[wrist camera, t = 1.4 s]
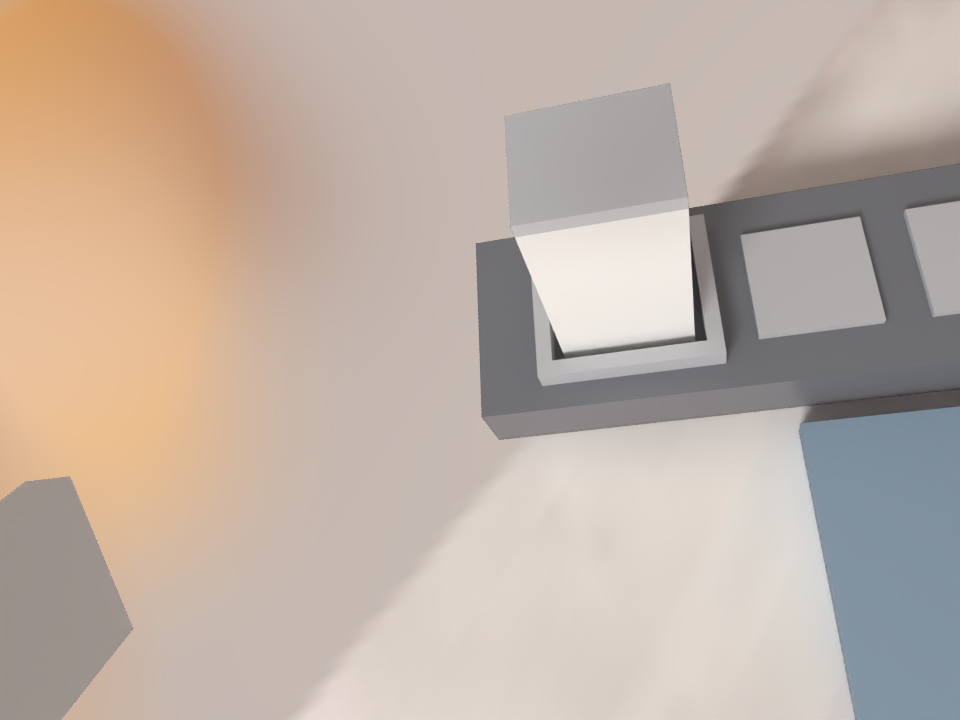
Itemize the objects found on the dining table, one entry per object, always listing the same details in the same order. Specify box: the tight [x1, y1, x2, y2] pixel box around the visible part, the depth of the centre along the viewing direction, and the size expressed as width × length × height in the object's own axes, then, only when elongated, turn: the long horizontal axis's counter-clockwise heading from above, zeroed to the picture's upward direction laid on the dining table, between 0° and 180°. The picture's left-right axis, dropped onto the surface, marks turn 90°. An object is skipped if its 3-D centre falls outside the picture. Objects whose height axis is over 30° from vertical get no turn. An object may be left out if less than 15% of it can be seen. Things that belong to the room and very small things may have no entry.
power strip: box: [476, 164, 960, 440], centre depth 31 cm, size 33×8×4 cm, turn 92°
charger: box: [505, 84, 695, 359], centre depth 28 cm, size 5×4×10 cm
